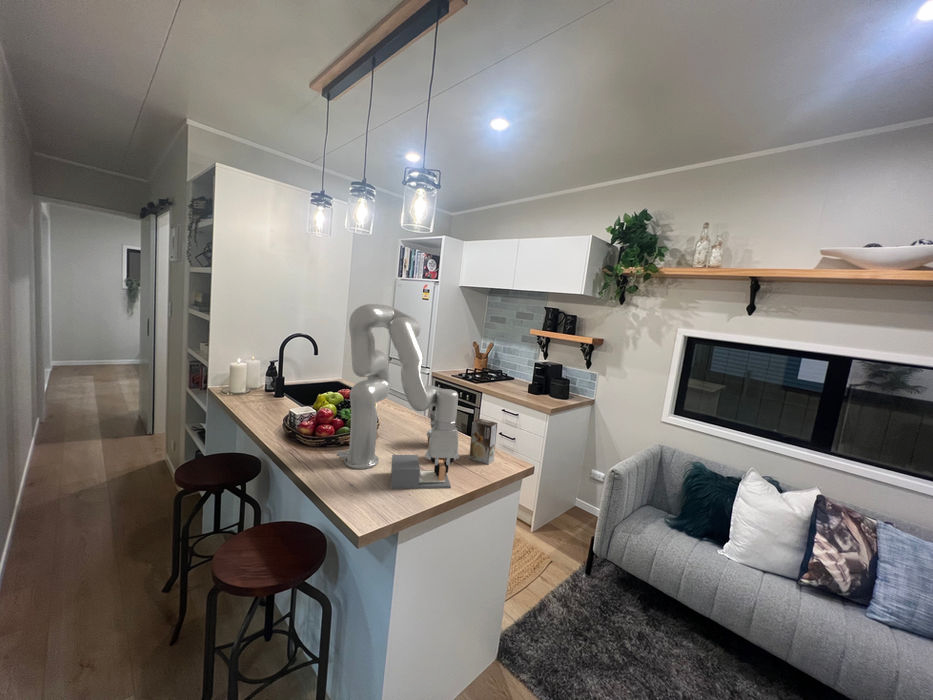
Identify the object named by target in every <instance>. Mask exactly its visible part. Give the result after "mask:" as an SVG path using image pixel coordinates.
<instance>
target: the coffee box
mask: <svg viewBox="0 0 933 700" xmlns="http://www.w3.org/2000/svg"><path fill="white" fill-rule="evenodd" d="M471 424H472V425H471V435H470V446H469V458H468V459H469V460H472V461H475V462H479V463H483V464H486V465H490V464H491V463H492V462H494V461H495V454H496V452H495V451H496V442H497V432H498V431H497V430H498V422H494V421H490V420H487V419H483V418H477V419H475V420H473V421H472V423H471Z"/></svg>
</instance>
